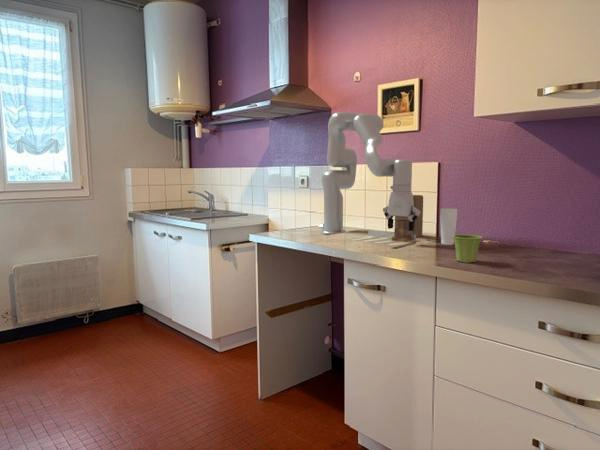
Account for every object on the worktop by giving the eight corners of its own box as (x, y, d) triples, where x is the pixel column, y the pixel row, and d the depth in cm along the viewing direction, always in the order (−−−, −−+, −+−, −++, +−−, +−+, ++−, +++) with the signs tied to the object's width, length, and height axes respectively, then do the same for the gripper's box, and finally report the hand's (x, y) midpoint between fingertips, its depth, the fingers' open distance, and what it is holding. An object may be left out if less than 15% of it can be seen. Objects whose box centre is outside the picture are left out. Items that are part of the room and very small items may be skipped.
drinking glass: (458, 245, 182) (459, 209, 180) (442, 245, 182) (443, 209, 180) (452, 243, 189) (453, 208, 187) (436, 243, 189) (438, 208, 187)
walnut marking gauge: (391, 240, 187) (392, 220, 186) (397, 239, 190) (398, 219, 189) (404, 241, 183) (404, 221, 182) (410, 240, 186) (410, 220, 185)
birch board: (349, 243, 190) (349, 233, 190) (370, 238, 202) (370, 230, 202) (396, 248, 175) (396, 239, 174) (415, 244, 187) (415, 234, 186)
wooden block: (414, 241, 194) (415, 196, 192) (393, 239, 200) (394, 195, 198) (423, 238, 202) (424, 195, 200) (402, 236, 208) (403, 194, 206)
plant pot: (452, 258, 156) (452, 233, 155) (480, 259, 153) (481, 235, 152) (450, 263, 147) (451, 237, 146) (481, 265, 144) (482, 238, 143)
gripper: (379, 188, 187) (378, 228, 189) (416, 190, 175) (414, 232, 178) (388, 188, 192) (387, 226, 195) (425, 189, 181) (423, 230, 183)
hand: (400, 229), depth 186 cm, fingers open, 9 cm apart
